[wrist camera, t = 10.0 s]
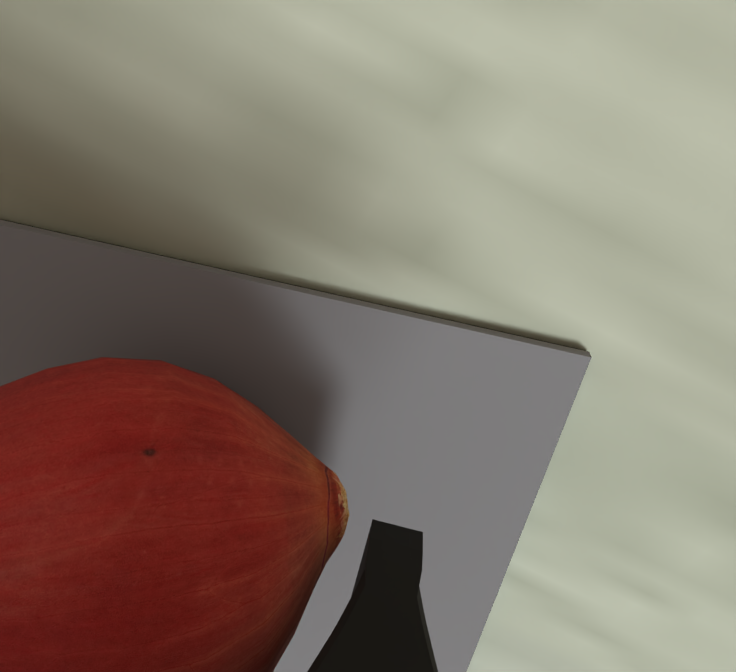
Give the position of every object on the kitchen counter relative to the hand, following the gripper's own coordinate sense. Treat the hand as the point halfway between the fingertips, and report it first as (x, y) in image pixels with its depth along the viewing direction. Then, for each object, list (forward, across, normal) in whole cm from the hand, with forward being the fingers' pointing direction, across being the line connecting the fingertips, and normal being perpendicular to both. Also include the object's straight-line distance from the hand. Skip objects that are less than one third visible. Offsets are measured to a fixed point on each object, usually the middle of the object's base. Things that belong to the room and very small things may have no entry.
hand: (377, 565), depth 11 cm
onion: (+1, +1, 0) cm, 1 cm away
